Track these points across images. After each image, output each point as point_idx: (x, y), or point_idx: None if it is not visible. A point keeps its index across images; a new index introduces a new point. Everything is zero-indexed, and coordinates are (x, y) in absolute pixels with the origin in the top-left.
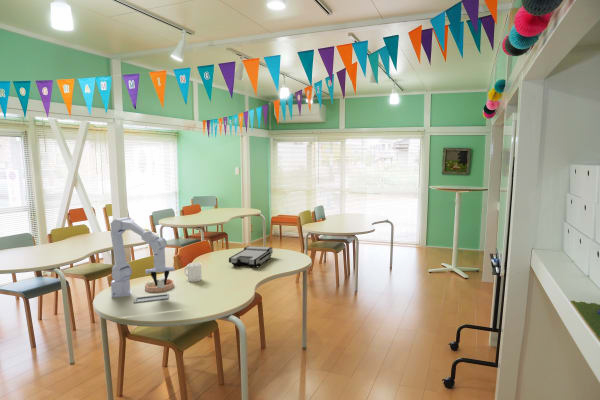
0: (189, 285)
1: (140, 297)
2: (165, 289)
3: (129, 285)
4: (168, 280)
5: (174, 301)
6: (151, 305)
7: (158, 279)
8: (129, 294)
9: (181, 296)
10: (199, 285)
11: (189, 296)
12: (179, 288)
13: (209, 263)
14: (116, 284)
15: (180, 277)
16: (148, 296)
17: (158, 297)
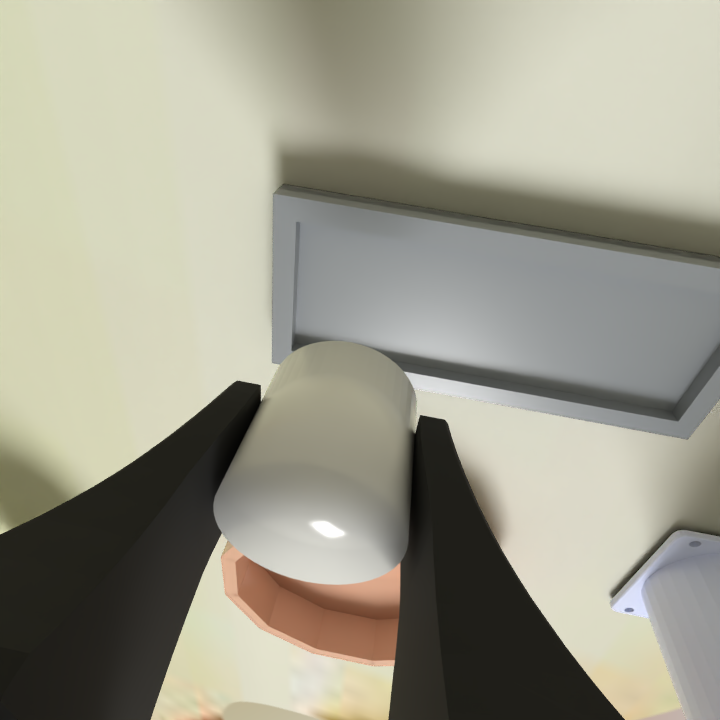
0: None
1: (629, 412)
2: None
3: (696, 667)
4: (274, 618)
5: (188, 70)
6: (573, 58)
7: (359, 568)
8: (675, 552)
9: (119, 245)
10: (5, 455)
11: (6, 189)
12: None
13: None
14: None
15: (205, 636)
16: (528, 394)
17: (408, 325)
